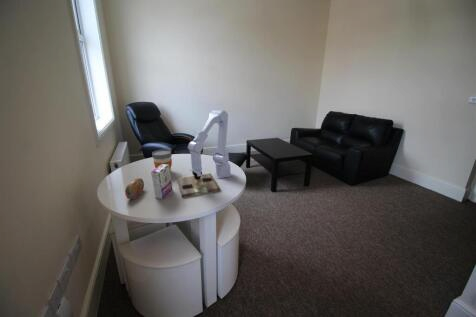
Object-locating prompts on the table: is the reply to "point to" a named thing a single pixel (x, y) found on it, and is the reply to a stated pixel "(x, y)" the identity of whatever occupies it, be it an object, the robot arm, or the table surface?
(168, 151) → the orange jar
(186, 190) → the board
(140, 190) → the brown flattened oblong
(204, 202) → the table surface
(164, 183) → the candy bar box
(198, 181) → the maple block
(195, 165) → the robot arm
